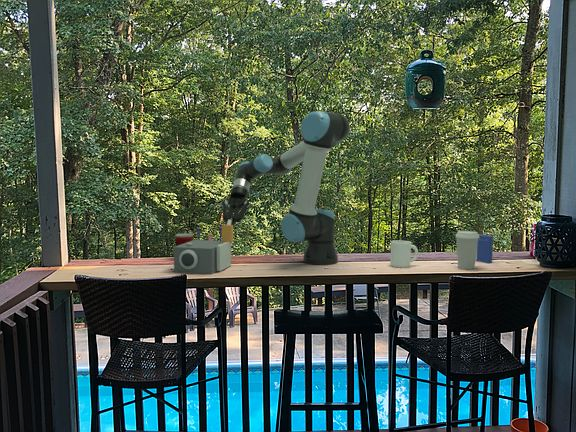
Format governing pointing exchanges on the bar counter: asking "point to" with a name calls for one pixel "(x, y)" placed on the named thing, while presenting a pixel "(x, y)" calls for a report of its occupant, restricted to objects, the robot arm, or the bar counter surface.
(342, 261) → the bar counter surface
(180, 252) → the camera housing
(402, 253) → the mug
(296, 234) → the robot arm
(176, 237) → the canned food
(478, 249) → the walkman
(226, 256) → the door
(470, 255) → the coffee cup
